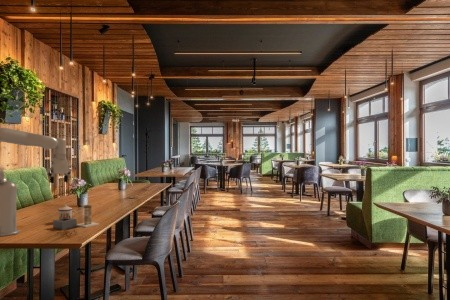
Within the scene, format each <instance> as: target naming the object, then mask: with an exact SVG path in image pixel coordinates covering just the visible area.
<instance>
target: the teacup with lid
mask: <svg viewBox="0 0 450 300" xmlns="http://www.w3.org/2000/svg"><path fill="white" fill-rule="evenodd" d="M57 210H58V219H62V218H73V219H75V218H76V217H77V216H78V214H77V211H76V210H73V208H72V207H70V206H68V205H67V204H63V206H61V207H59V208H58V209H57ZM73 212H74V213H75V215H74V216H73Z"/></svg>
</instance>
